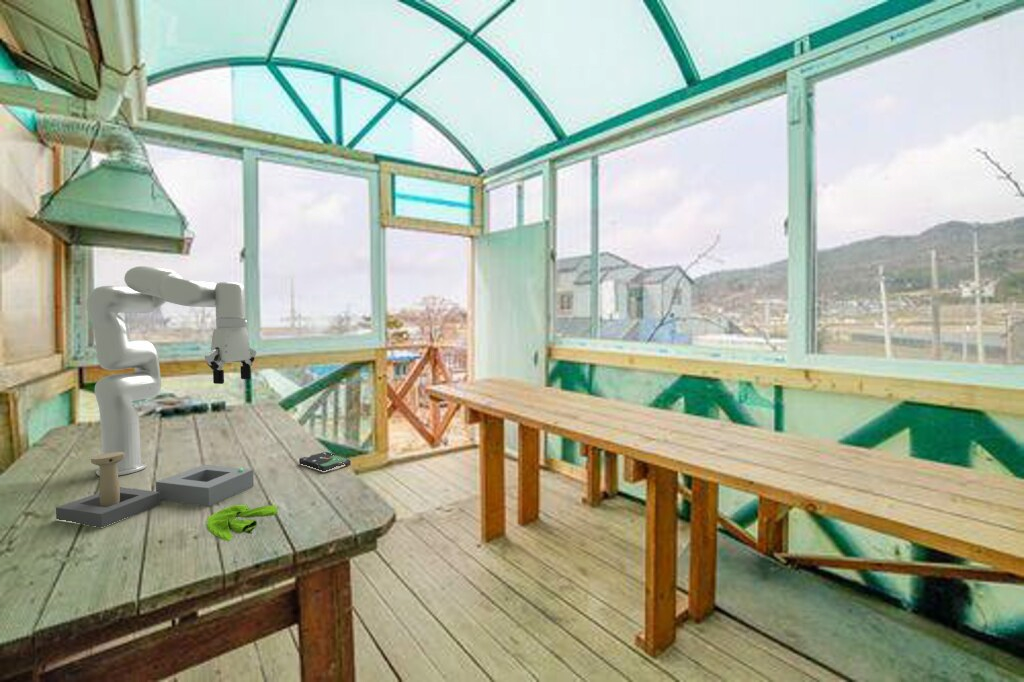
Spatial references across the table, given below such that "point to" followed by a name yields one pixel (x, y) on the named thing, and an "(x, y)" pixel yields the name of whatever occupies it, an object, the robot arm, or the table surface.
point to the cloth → (225, 520)
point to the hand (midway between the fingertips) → (232, 381)
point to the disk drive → (324, 461)
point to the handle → (108, 477)
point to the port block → (205, 485)
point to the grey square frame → (98, 516)
